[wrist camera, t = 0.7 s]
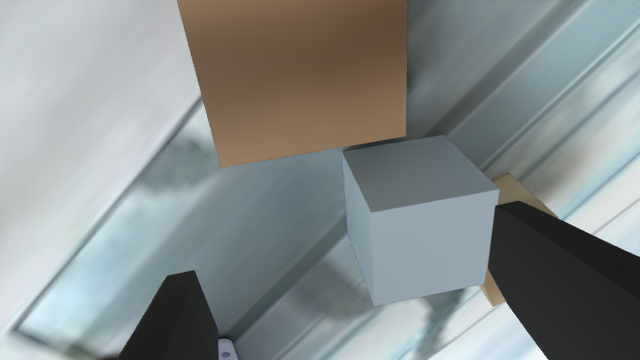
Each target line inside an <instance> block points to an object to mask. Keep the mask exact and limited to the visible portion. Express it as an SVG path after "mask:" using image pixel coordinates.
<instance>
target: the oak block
mask: <svg viewBox="0 0 640 360" xmlns="http://www.w3.org/2000/svg"><path fill="white" fill-rule="evenodd" d="M492 182H493V183H494V184H495V185H496V186H497V187H498V188H499V189H500V191H499V197H498V203H497V205H500V204H505V203H509V202H514V201H522V202H524V203H526V204H529V205H531V206H533V207H535V208H537V209H540V210H542V211H544V212H546V213H548V214H550V215H552V216H554V217H556V218H558V217H557V216H556V215H555V214H554V213H553V212H552V211H551V210H550V209H548V208H547V207H546V206H545V205H544V204H543V203H542V202H541V201H540V200H538V199H537V198H536V197H535V196H534V195H533V194H532V193H531V192H529V191H528V190H527V189H526V188H525V187H524V186H523V185H522V184H520V183H519V182H518V181H517V180H516V179H515V178H514V177H513V176H511V175H510V174H509V173H508V174H506V175H504V176H502V177H500V178H498V179H496V180H494V181H492ZM488 260H489V258H488ZM478 286H479V287H480V289H481V290H482V291H483V293H484V294H485V296H486V297H487V299H488V300H489V302H490V303H491V305H492V306H496V305H498V304H500V303H502V302H504V301H506V300H505V299H504V297H503V295H502V294H501V292H500V290H499V288H498V287H497V285H496V283H495V281H494V279H493V277H492V275H491V273H490V272H489V270H488V264H487V270H486V276H485V282H484V284H481V285H478Z"/></svg>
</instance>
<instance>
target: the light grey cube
mask: <svg viewBox="0 0 640 360" xmlns="http://www.w3.org/2000/svg"><path fill="white" fill-rule="evenodd" d="M342 161H343V175H344V189H345V202H346V216H347V230H348V237H349V239H350V242H351V245H352V247H353V250H354V253H355V256H356V258H357V261H358V264H359V266H360V269H361V272H362V275H363V277H364V280H365V283H366V285H367V288H368V291H369V294H370V296H371V299H372V302H373V304H374V306H379V305H384V304H388V303H393V302H398V301H403V300H408V299H413V298H418V297H423V296H427V295H432V294H437V293H442V292H447V291H452V290H457V289H462V288H466V287H471V286H476V285H481V284H484V282H485V276H486V270H487V264H488V258H489V252H490V244H491V235H492V227H493V219H494V211H495V205H497V203H498V197H499V191H500V189H499V188H498V187H497V186H496V185H495V184H494V183H493V182H492V181H491V180H490V179H489V178H488V177H487V176H486V175H485V174H484V173H483V172H482V171H481V170H480V169H479V168H478V167H477V166H476V165H475V164H473V163H472V162H471V161H470V160H469V159H468V158H467V157H466V156H465V155H464V154H463V153H462V152H461V151H460V150H459V149H458V148H457V147H456V146H455V145H454V144H453V143H452V142H451V141H450V140H449V139H448V138H447V137H446V136H445V135H439V136H433V137H427V138H421V139H415V140H409V141H403V142H397V143H391V144H385V145H379V146H373V147H366V148H360V149H354V150H348V151H342Z"/></svg>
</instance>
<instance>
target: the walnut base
mask: <svg viewBox="0 0 640 360" xmlns="http://www.w3.org/2000/svg"><path fill="white" fill-rule="evenodd" d="M177 3H178V7H179V11H180V14H181V18H182V22H183V26H184V30H185V33H186V37H187V41H188V45H189V49H190V52H191V56H192V60H193V64H194V68H195V71H196V75H197V79H198V83H199V87H200V90H201V94H202V98H203V102H204V106H205V109H206V113H207V117H208V121H209V125H210V128H211V132H212V136H213V140H214V144H215V147H216V151H217V155H218V159H219V163H220V166H221V168H222V167H228V166H234V165H240V164H246V163H252V162H258V161H264V160H269V159H275V158H281V157H287V156H293V155H299V154H305V153H311V152H316V151H322V150H328V149H334V148H340V147H346V146H352V145H358V144H363V143H369V142H375V141H381V140H387V139H393V138H399V137H405V136H406V105H407V28H408V0H177Z"/></svg>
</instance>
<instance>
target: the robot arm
mask: <svg viewBox="0 0 640 360" xmlns="http://www.w3.org/2000/svg"><path fill="white" fill-rule="evenodd" d="M488 270H489V272H490V273H491V275H492V277H493V279H494V281H495V283H496V285H497V287H498V288H499V290H500V292H501V294H502V295H503V297H504V299H505V300H506V302H507V304H508V305H509V307H510V308H511V310H512V311H513V312H514V314H515V315H516V317H517V318H518V319H519V321H520V322H521V323H522V325H523V326H524V328H525V329H526V330H527V332H528V333H529V334H530V336H531V337H532V338H533V340H534V341H535V342H536V344H537V345H538V346H539V348H540V349H541V351H542V352H543V353H544V355H545V356H546V357H547V359H548V360H640V257H638V256H636V255H634V254H632V253H630V252H627V251H625V250H623V249H621V248H619V247H616V246H614V245H612V244H610V243H608V242H606V241H604V240H602V239H599V238H597V237H595V236H593V235H591V234H589V233H587V232H585V231H583V230H581V229H579V228H577V227H575V226H573V225H571V224H569V223H566V222H564V221H562V220H560V219H558V218H556V217H554V216H552V215H550V214H548V213H546V212H544V211H542V210H540V209H537V208H535V207H533V206H531V205H529V204H526V203H524V202H522V201H514V202H509V203H505V204H500V205H495V211H494V219H493V227H492V235H491V244H490V252H489V260H488ZM116 360H238V357H237V354H236V351H235V349H234V346H233V343H232V341H231V340H229V339H219V340H218V329H217V326H216V324H215V321H214V319H213V316H212V314H211V311H210V308H209V306H208V303H207V301H206V298H205V296H204V293H203V291H202V288H201V286H200V283H199V281H198V278H197V276H196V273H195V270H192V271H188V272H183V273H178V274H174V275H169V276H167V277H166V278H165V280H164V281H163V283H162V285H161V286H160V288H159V290H158V291H157V293H156V295H155V297H154V298H153V300H152V302H151V303H150V305H149V307H148V309H147V310H146V312H145V314H144V315H143V317H142V319H141V320H140V322H139V324H138V325H137V327H136V329H135V330H134V332H133V334H132V335H131V337H130V338H129V340H128V342H127V343H126V345H125V346H124V348H123V350H122V351H121V353H120V354H119V356H118V358H117V359H116Z"/></svg>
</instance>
